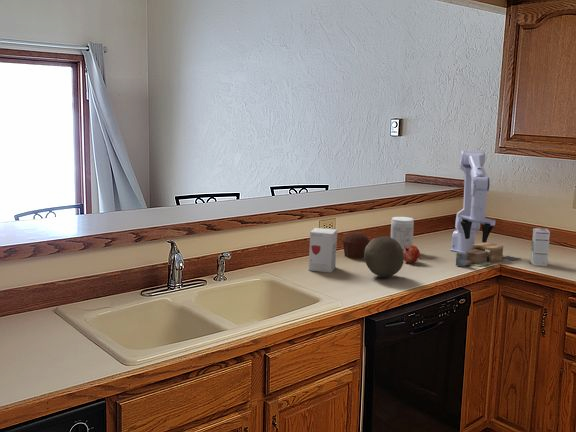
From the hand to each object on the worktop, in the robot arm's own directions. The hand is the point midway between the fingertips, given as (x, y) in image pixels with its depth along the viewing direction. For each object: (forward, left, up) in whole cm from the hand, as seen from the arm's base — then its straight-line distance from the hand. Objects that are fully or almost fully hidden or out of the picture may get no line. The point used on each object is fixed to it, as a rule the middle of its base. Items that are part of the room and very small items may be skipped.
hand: (475, 240), depth 248 cm
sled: (-1, -1, -9) cm, 10 cm away
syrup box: (+17, +22, -10) cm, 29 cm away
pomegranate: (-17, -18, -10) cm, 27 cm away
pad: (-1, +3, -10) cm, 10 cm away
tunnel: (-1, +13, -10) cm, 16 cm away
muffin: (-38, -28, -10) cm, 49 cm away
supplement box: (-32, -54, -10) cm, 64 cm away
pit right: (+5, +22, -10) cm, 24 cm away
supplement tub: (-31, -6, -10) cm, 34 cm away
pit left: (-4, +22, -10) cm, 24 cm away
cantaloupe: (-10, -45, -10) cm, 48 cm away
